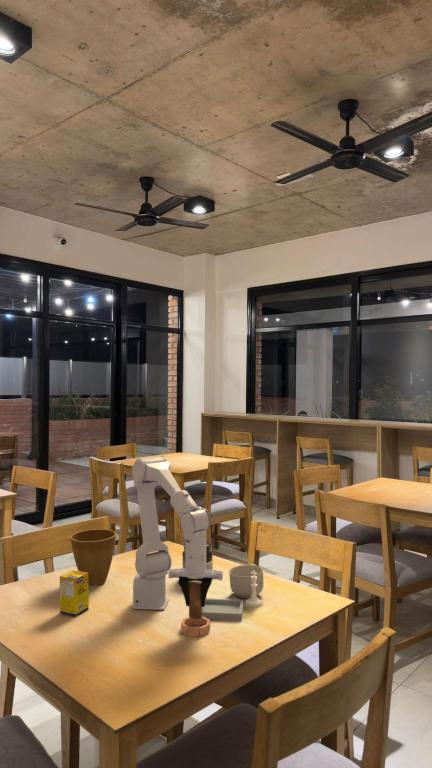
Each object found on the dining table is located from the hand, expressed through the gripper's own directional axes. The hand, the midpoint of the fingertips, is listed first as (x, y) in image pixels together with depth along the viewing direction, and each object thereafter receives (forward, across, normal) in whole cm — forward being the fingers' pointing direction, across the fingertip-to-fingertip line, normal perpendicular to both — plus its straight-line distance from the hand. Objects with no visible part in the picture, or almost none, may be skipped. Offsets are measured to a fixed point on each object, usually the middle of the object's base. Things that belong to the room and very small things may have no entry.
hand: (195, 605), depth 147 cm
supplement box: (+7, -37, +8) cm, 38 cm away
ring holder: (+7, 0, 0) cm, 7 cm away
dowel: (+3, 0, 0) cm, 3 cm away
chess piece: (+7, +15, +19) cm, 25 cm away
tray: (+7, +6, +12) cm, 15 cm away
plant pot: (+7, -39, +31) cm, 50 cm away
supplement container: (+7, -5, +39) cm, 40 cm away
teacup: (+7, +13, +27) cm, 31 cm away
